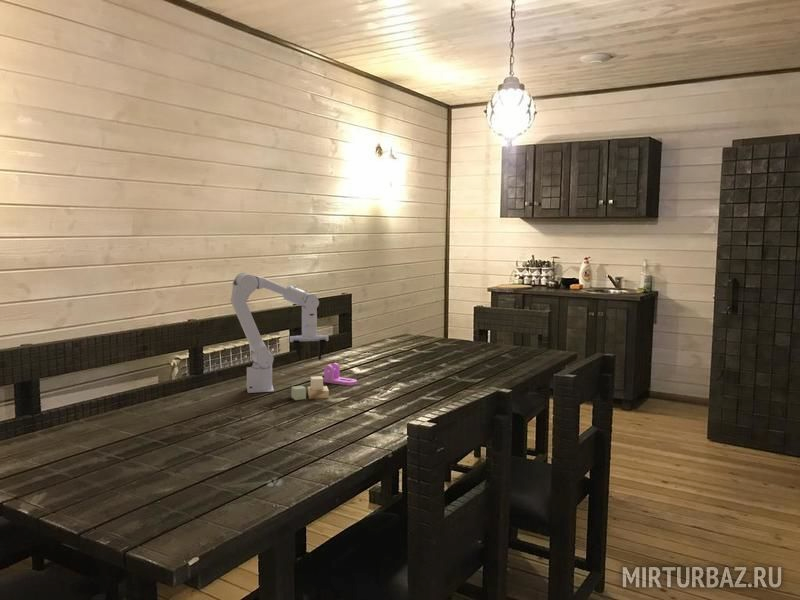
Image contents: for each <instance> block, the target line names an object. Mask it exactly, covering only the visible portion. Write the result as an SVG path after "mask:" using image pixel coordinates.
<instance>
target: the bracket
mask: <svg viewBox="0 0 800 600" xmlns="http://www.w3.org/2000/svg"><path fill="white" fill-rule="evenodd" d="M340 369H341V367H340V365H339V363H337V362H334V363H331V364H327V365H325V366H324V368H323V383H329V384H333V385H334V384H337V385H342V386H355V385H356V386H357V385H358V384H357V383H358V380H357V379H355V378H349V377H341V375H340V373H341V370H340Z"/></svg>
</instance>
